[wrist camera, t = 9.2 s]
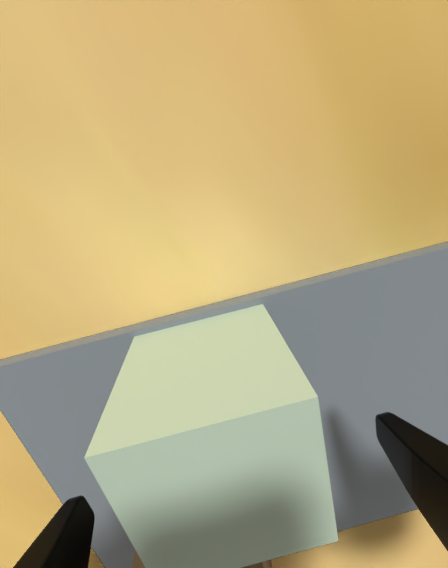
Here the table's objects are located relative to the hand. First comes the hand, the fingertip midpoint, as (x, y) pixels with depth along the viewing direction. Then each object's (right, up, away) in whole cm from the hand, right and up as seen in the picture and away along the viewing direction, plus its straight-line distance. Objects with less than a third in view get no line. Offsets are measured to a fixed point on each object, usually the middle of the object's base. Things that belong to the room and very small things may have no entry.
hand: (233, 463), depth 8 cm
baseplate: (+2, -2, +5) cm, 6 cm away
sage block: (-1, +2, +3) cm, 4 cm away
